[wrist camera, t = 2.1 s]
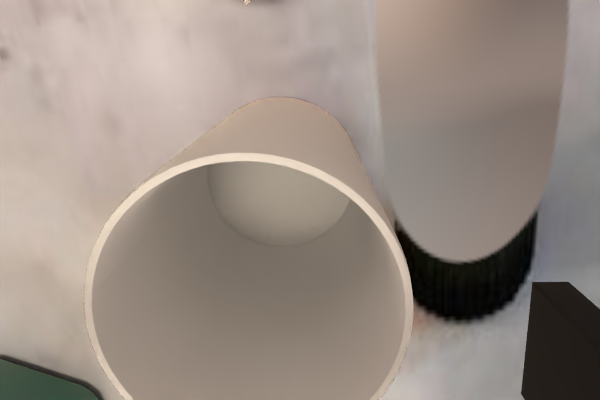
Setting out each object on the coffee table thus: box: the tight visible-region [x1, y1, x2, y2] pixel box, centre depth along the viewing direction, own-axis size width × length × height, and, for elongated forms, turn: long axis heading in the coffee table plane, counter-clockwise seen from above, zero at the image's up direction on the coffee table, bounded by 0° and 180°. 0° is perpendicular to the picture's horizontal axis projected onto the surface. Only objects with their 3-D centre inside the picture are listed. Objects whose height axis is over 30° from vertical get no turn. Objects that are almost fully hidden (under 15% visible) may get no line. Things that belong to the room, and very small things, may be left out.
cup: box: [84, 97, 413, 400], centre depth 21 cm, size 8×8×16 cm
